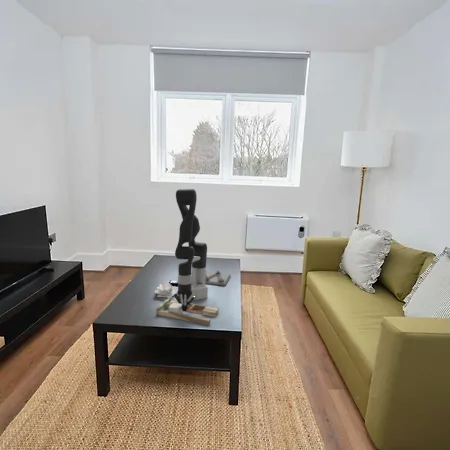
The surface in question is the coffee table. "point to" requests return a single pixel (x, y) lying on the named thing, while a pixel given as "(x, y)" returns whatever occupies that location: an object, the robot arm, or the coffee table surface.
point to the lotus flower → (165, 290)
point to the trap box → (191, 308)
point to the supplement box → (199, 291)
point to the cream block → (176, 308)
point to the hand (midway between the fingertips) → (184, 310)
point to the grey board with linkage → (216, 278)
